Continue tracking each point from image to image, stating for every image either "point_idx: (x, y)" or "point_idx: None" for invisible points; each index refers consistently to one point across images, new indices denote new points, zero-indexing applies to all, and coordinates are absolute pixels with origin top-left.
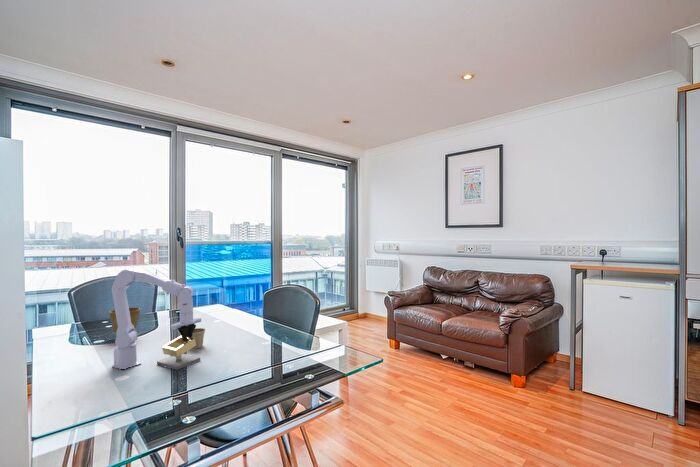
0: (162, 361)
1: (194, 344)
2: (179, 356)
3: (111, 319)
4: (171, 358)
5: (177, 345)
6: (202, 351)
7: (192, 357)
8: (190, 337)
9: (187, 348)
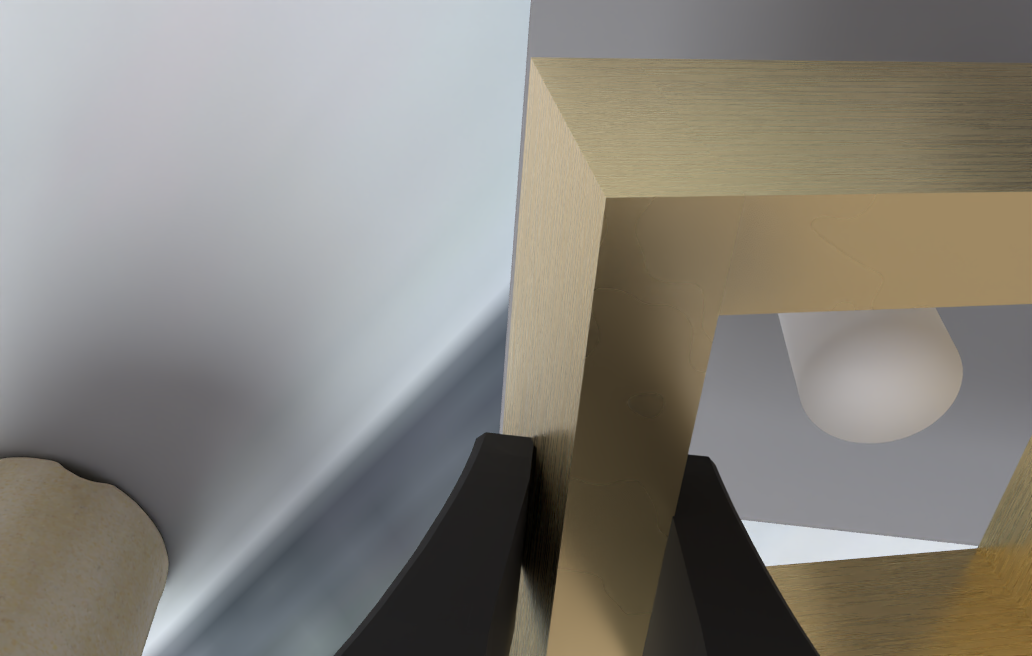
0: (1012, 464)
1: (628, 82)
2: None
3: None
4: (815, 435)
5: None
6: (114, 274)
7: (618, 44)
8: (518, 505)
9: (950, 95)
